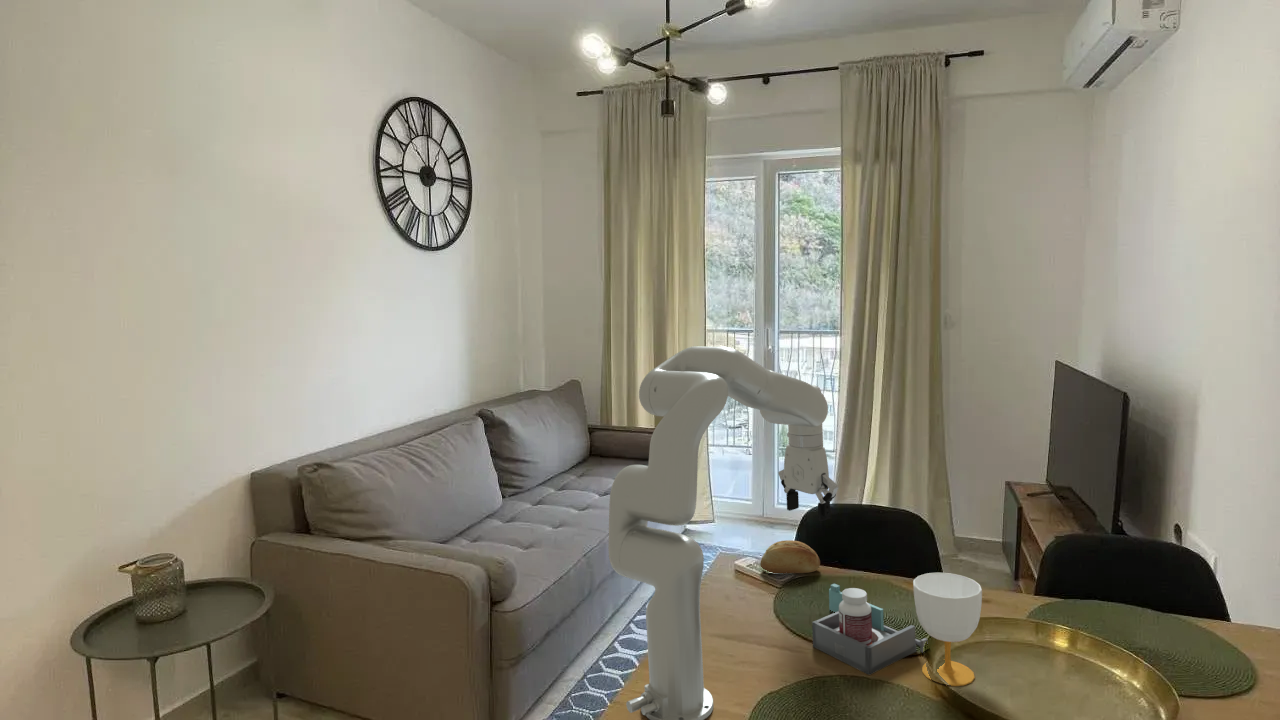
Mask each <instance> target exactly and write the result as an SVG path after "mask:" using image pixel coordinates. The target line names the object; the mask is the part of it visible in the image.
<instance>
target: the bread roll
mask: <svg viewBox="0 0 1280 720" xmlns="http://www.w3.org/2000/svg"><path fill="white" fill-rule="evenodd" d="M759 564H760V568H761V567H762V568H763V569H765V570H767V571H769V572H773V573H783V574H807V573H813V572H816V571H817V570H818V569H819V568H820V566H821V560H820V557H819V556H818V554H817V552H816V551H815V550H814V549H813V548H811V547H810V546H809V545H808V544H806V543H805V542H802V541H798V540H793V539H792V540H791V539H788V540H780V541H777V542H774V543H772V544H771V545H770V546H768V548H766V550H765V552H764V553H763V555H762V556H761V559H760V563H759Z"/></svg>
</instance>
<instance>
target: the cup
mask: <svg viewBox="0 0 1280 720" xmlns="http://www.w3.org/2000/svg"><path fill="white" fill-rule="evenodd" d="M912 584H913V596H914V597H913V598H914V605H915V612H916V616H917V619H918V623H919V624H920V626H921V627H922V628H923V630H924V631H925V632H926V633H927V634H928V635H929V636H930V637H932V638H934V639H936V640H938V641H941V642H943V643H944V646H943V647H944V660H945V663H944V664H943V665H942V666H940V667H939V669H937V672H938V673H939V675H940V676H941V677H942V678H943V679H944V680H945V681H946V682H947V683H948V684H949V685H951V686H950V687H962V686H963V687H964V686H967V685H969V684H972V683H973V682H974V680H975V678H976V677H975V672H974V671H973V670H972V669H970V667H968V666H966V665H965V664H962V663H960V662H958V661H955V660H954V661H953V660H952V658H951V654H952V653H951V651H952V643H958V642H963V641H965V640H967V639H969V638H970V637H971V636H972V634H973V633H974V632H975V631H976V629H977V628H978V625H979V622H980V618H981V612H982V604H983V603H982V602H983V590H982V586H981V585H980V583H978V582H977V581H976V580H975V579H972V578H969V577H967V576H964V575H961V574H956V573H950V572H949V573H948V572H929V573H928V572H927V573H924V574H921V575H917V577H915V578H914V579H913V581H912ZM926 663H927V662H925V663H924V664H923V665H922V667H921V670H922V674H923V675H924V676H925V678H927V679H928V680H930V681H932V680H931V678H930V676H929V674H928V671H927V667H926Z"/></svg>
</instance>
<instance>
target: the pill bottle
mask: <svg viewBox="0 0 1280 720" xmlns="http://www.w3.org/2000/svg"><path fill="white" fill-rule="evenodd" d="M841 592H842V599H843V601H842V602H841V603H840V604H839V630H840V633H842V634H844V635H846V636H848V637H851V638H853V639H855V640H857V641H859V642H861V643H863V644H866V645H870V644H872V616H871V606H870V604H871V603H869V602H867V601H868V593H867V592H866V590H864V589H861V588H856V587H849V588H844V590H842V591H841Z"/></svg>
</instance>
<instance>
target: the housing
mask: <svg viewBox="0 0 1280 720" xmlns="http://www.w3.org/2000/svg"><path fill="white" fill-rule="evenodd" d="M811 627H812V647H813V648H815V649H817V650H819V651H821V652H822V653H825V654H827V655H829V656H830V657H832V658H834V659H837V660H839V661H840V662H842V663H845V665H848V666H850V667H852V668H854V669H856V670H859V672H863V673H864V674H866V675H868V676H870V675H872V674H874V673H877V672H878V671H880V670H883V669H884V668H886V667H888V666H890V665H892V664H894V663H896V662H898V661H901V660H902V659H903V658H905V657H908V656H909V655H911V654H914V653H916V652H917V646H919V648H920V653H922V654H924V653H923V647H924V644H925V642H926V641H927V642H928V638H927V637H924V638H922V639H917V638H916V626H915V625H914V624H913V625H912V624H910V625H909V626H906V627H904V628H903V629H900V630H896V629H894V628H892V627H889V626H887V625H884V631H882V630H880V629H877V628H875V627H873V626H872V644H870V645H866V644H863V643H861V642H859V641H857V640H855V639H853V638H851V637H848V636H846V635H844V634H842V633H840V630H839V611H837V612H835V613H834V612H832V613H831V614H828V615H826V616H824V617H821V618H818V619H817V620H814V621H812V622H811Z"/></svg>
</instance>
